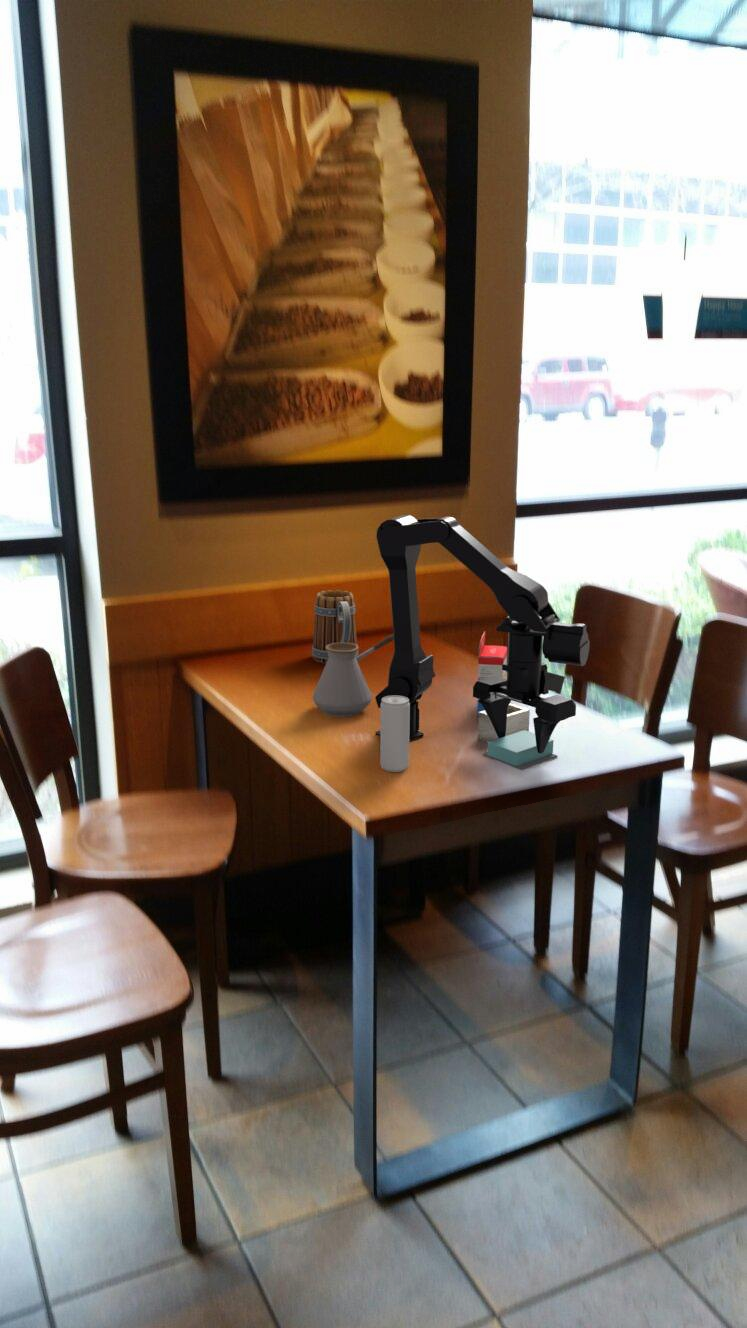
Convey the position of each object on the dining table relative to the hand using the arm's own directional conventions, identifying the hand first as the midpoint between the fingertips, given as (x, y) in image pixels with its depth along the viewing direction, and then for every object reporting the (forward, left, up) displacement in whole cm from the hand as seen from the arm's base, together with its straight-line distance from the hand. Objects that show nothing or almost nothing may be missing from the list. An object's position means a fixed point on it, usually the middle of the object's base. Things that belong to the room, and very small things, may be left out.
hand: (521, 745), depth 186 cm
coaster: (0, 0, -2) cm, 2 cm away
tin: (+5, +9, -2) cm, 10 cm away
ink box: (+15, +21, -2) cm, 26 cm away
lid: (0, 0, -1) cm, 1 cm away
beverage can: (-20, +10, -2) cm, 23 cm away
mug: (+13, +66, -2) cm, 67 cm away
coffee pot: (-3, +38, -2) cm, 38 cm away
